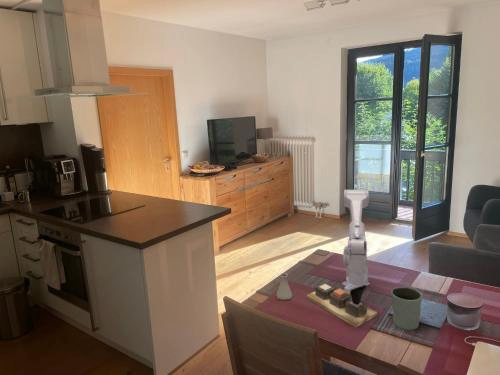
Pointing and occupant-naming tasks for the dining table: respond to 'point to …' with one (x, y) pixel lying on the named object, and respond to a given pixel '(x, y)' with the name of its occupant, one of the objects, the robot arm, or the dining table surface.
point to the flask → (284, 289)
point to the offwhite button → (325, 287)
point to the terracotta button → (339, 293)
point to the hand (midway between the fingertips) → (356, 303)
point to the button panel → (341, 306)
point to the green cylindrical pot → (406, 307)
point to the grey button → (356, 304)
